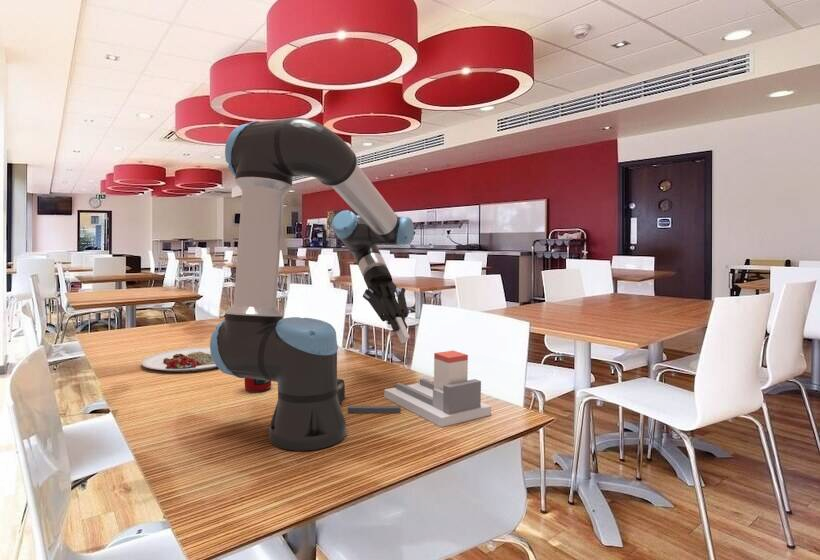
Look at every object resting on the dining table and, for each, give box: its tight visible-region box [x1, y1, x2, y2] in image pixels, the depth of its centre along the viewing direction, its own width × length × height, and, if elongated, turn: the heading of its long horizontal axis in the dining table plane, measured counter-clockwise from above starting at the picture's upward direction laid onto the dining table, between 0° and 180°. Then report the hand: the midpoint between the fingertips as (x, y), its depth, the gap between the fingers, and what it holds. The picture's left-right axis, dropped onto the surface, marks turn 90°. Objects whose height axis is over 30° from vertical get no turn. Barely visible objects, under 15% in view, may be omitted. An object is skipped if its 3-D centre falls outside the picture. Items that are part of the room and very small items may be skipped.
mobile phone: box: [337, 378, 346, 404], centre depth 120 cm, size 5×3×15 cm
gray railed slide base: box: [384, 378, 492, 428], centre depth 120 cm, size 24×14×8 cm, turn 33°
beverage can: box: [244, 378, 272, 393], centre depth 132 cm, size 7×7×12 cm
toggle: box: [433, 350, 469, 391], centre depth 115 cm, size 5×5×11 cm
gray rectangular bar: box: [347, 405, 402, 414], centre depth 116 cm, size 12×2×2 cm, turn 91°
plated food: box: [141, 346, 218, 373], centre depth 162 cm, size 30×30×3 cm
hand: (405, 339), depth 131 cm, fingers closed
